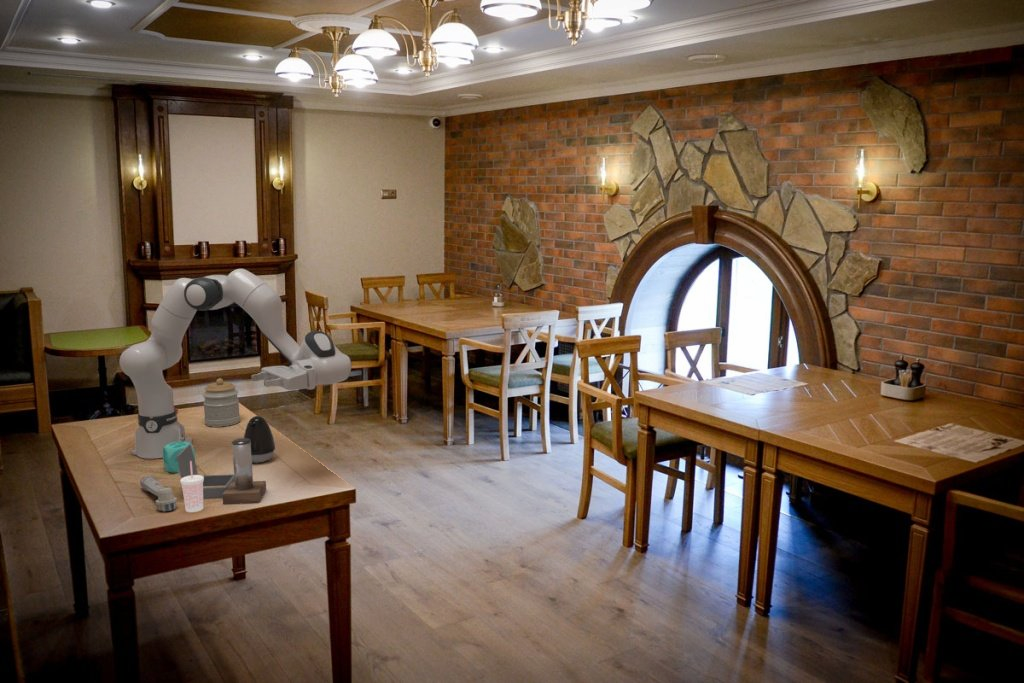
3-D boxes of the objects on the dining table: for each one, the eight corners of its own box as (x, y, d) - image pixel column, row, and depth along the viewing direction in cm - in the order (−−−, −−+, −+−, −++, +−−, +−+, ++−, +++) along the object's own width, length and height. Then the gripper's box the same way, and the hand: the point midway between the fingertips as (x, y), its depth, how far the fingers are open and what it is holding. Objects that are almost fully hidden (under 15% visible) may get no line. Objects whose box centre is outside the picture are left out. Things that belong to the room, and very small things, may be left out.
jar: (236, 426, 312) (233, 381, 309) (201, 428, 310) (197, 382, 307) (243, 417, 325) (240, 374, 322) (209, 419, 323) (205, 375, 320)
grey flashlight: (155, 473, 249) (177, 485, 229) (157, 495, 250) (179, 508, 229) (136, 477, 246) (157, 489, 226) (139, 499, 246) (160, 513, 226)
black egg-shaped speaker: (237, 465, 268) (234, 420, 265) (251, 455, 278) (249, 411, 275) (267, 466, 266) (264, 421, 263) (280, 456, 276) (278, 412, 274)
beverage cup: (199, 503, 234) (195, 456, 232) (210, 508, 230) (206, 460, 228) (178, 509, 230) (174, 461, 227) (189, 515, 226) (185, 466, 223)
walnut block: (231, 491, 244) (231, 482, 243) (266, 490, 244) (265, 480, 244) (222, 504, 234) (222, 494, 233) (258, 502, 235) (258, 492, 234)
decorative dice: (170, 474, 259) (167, 450, 257) (163, 468, 265) (161, 444, 264) (196, 469, 264) (194, 445, 262) (189, 463, 270) (187, 439, 268)
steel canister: (237, 484, 241) (234, 438, 238) (255, 483, 241) (252, 438, 239) (233, 490, 236) (229, 443, 233) (251, 490, 236) (247, 443, 234)
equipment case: (191, 485, 249) (187, 444, 247) (236, 483, 250) (233, 442, 248) (179, 499, 238) (175, 456, 235) (227, 497, 239) (223, 454, 237)
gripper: (287, 359, 261) (244, 365, 252) (315, 369, 245) (271, 376, 237) (288, 378, 262) (246, 385, 253) (316, 390, 246) (272, 397, 238)
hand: (258, 380), depth 245 cm, fingers open, 8 cm apart
